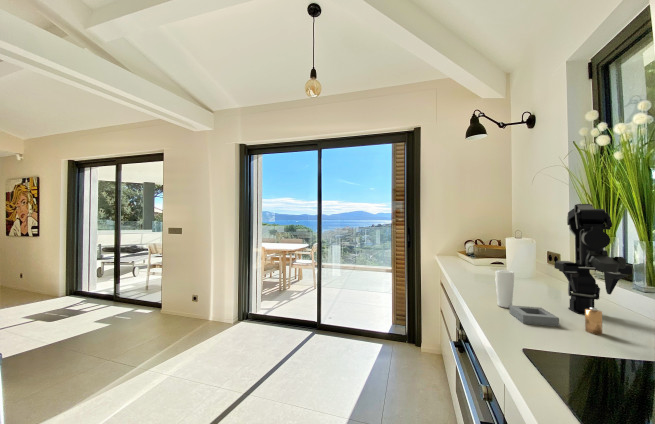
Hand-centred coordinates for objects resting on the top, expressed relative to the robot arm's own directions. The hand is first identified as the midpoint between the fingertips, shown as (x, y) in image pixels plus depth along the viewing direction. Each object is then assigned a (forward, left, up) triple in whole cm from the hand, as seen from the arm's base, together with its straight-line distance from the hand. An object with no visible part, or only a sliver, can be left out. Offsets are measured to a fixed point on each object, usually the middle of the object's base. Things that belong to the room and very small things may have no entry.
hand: (592, 293), depth 89 cm
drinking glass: (+18, -22, -13) cm, 31 cm away
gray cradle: (+14, -8, -13) cm, 20 cm away
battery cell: (0, 0, -13) cm, 13 cm away
